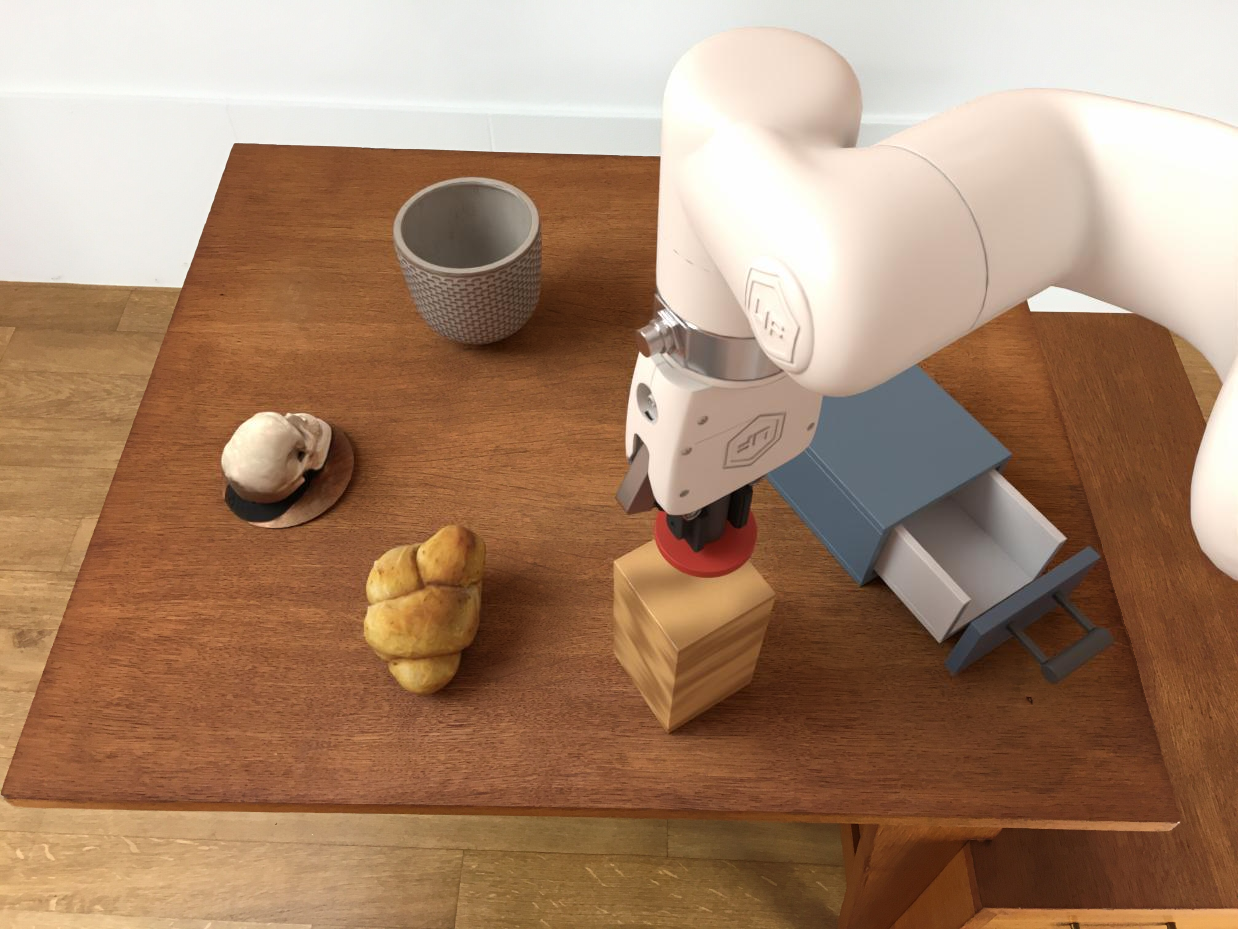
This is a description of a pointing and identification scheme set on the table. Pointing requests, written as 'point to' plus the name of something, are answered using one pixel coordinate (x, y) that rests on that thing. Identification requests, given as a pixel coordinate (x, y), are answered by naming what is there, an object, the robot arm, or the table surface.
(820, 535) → the slate drawer box
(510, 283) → the planter
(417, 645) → the bread roll
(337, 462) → the skull
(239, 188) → the table surface
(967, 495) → the blue pull-out drawer box
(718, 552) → the pan lid
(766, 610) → the wooden block
